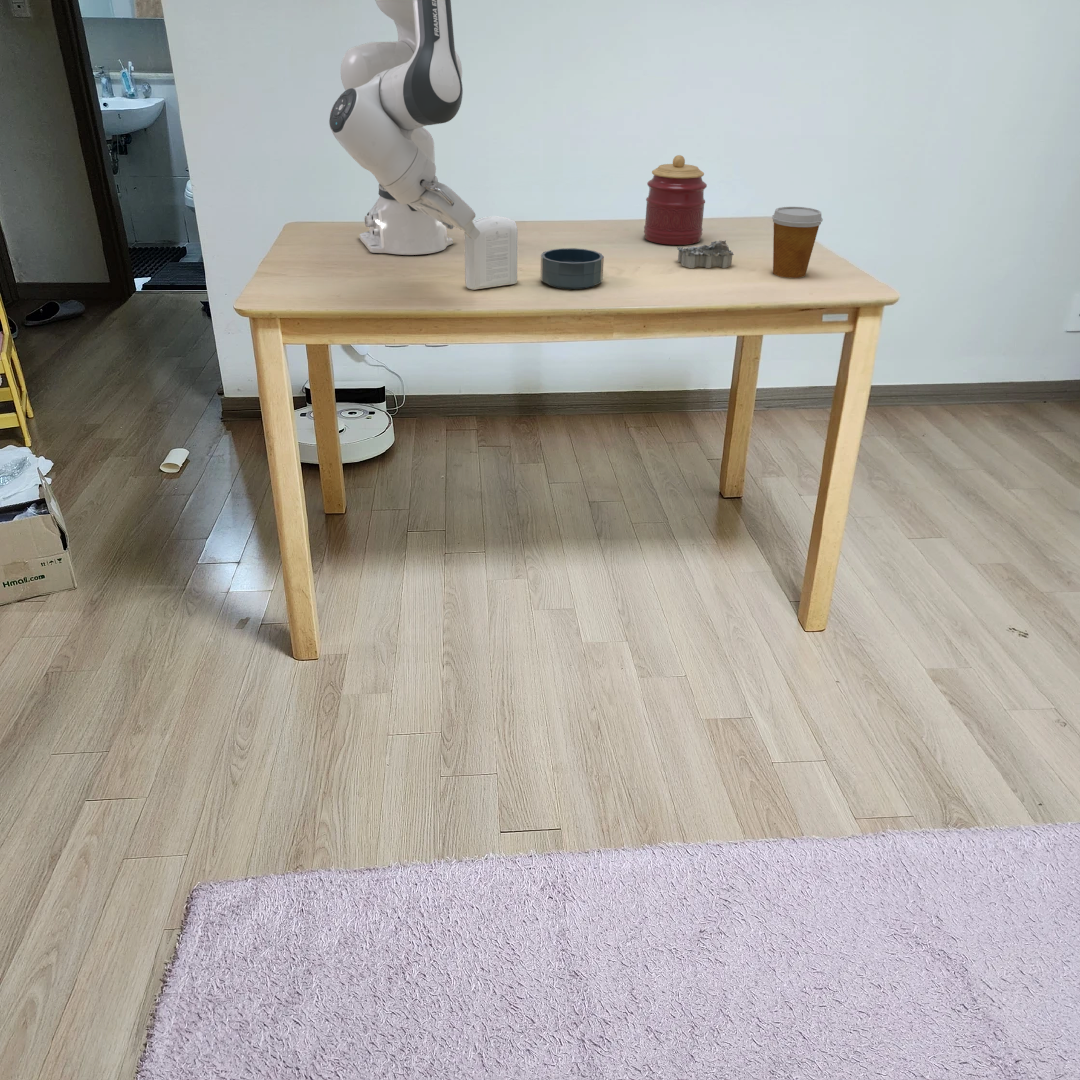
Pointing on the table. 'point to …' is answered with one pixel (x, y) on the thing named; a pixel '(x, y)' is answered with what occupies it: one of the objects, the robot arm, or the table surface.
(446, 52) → the robot arm
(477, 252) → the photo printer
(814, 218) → the disposable coffee cup
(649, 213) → the kitchen canister
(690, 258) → the grey packaging insert
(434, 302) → the table surface
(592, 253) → the bowl
